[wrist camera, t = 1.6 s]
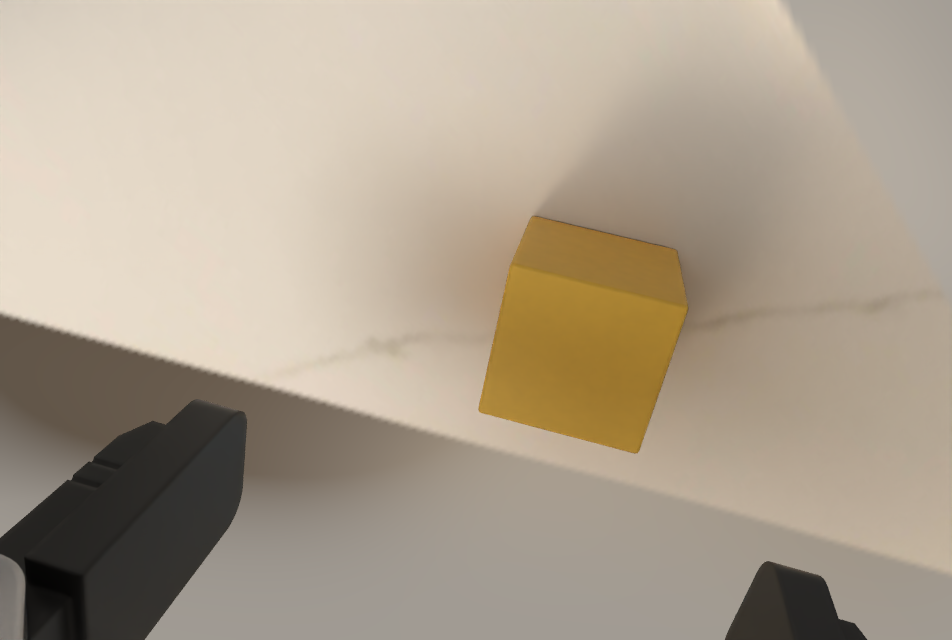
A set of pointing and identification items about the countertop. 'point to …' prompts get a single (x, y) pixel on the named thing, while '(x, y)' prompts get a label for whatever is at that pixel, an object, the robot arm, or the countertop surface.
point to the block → (584, 334)
